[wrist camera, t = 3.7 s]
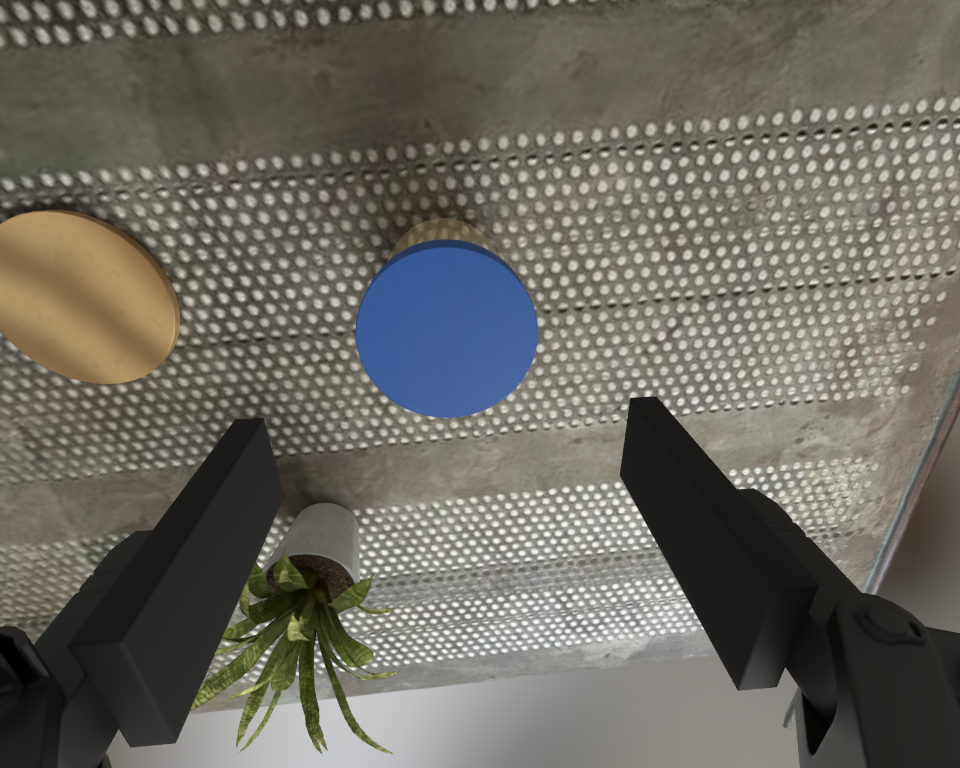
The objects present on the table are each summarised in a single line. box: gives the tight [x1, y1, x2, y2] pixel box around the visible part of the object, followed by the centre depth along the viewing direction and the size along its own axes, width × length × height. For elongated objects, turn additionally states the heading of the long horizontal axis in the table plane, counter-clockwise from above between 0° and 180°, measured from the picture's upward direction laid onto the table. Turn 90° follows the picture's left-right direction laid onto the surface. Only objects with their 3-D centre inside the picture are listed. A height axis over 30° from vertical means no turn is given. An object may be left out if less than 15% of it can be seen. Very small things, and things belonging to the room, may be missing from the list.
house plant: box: [190, 503, 398, 754], centre depth 33 cm, size 14×14×16 cm
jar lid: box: [356, 239, 538, 418], centre depth 22 cm, size 8×8×2 cm
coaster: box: [0, 210, 181, 384], centre depth 30 cm, size 11×11×1 cm
